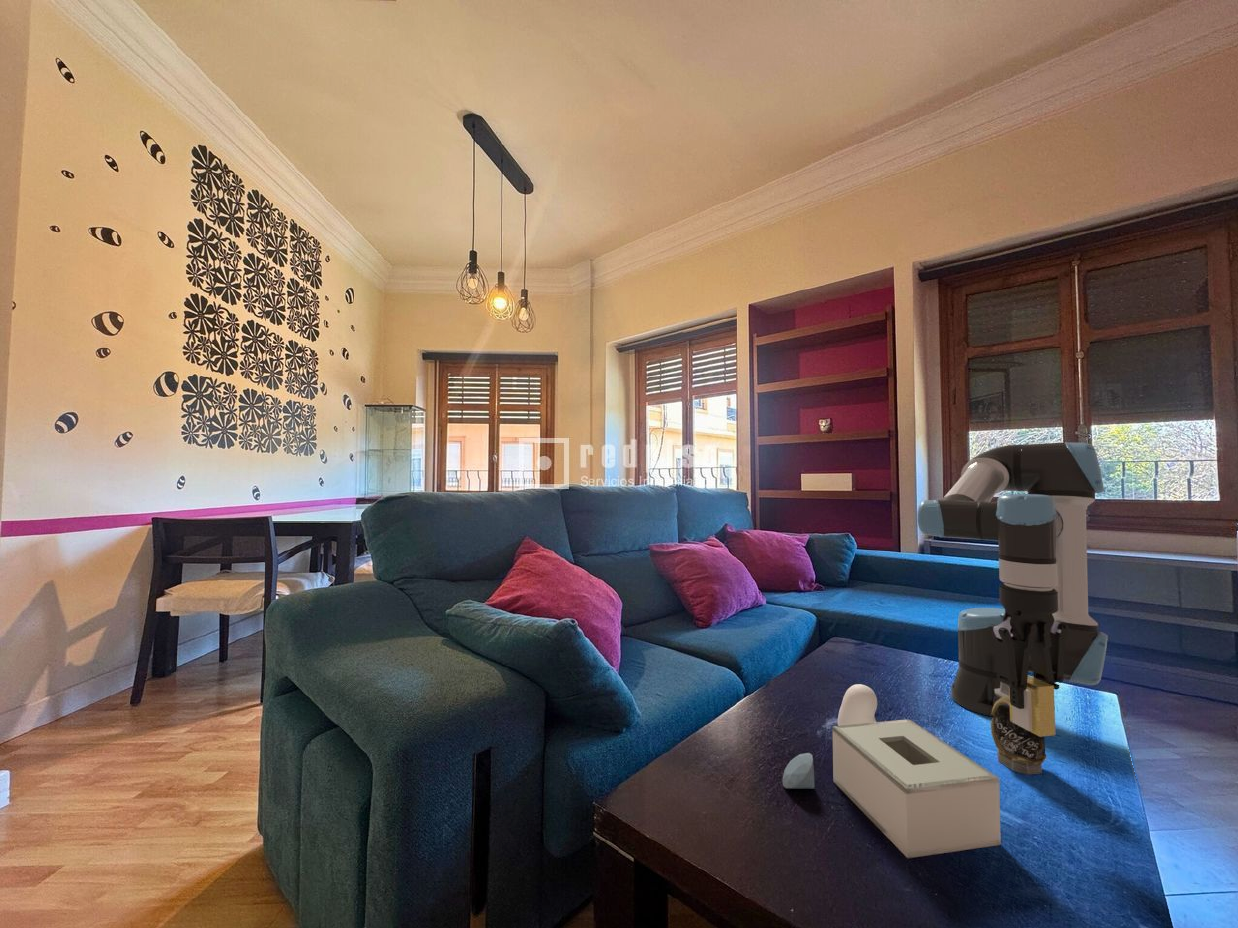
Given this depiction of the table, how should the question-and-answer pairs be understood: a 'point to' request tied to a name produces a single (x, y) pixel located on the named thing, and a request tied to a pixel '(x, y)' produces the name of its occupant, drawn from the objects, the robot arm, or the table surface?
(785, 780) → the gemstone
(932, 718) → the table surface
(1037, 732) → the tan rectangular block
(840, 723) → the figurine
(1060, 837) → the table surface
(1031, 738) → the ring-topped bottle ornament
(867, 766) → the coin box
